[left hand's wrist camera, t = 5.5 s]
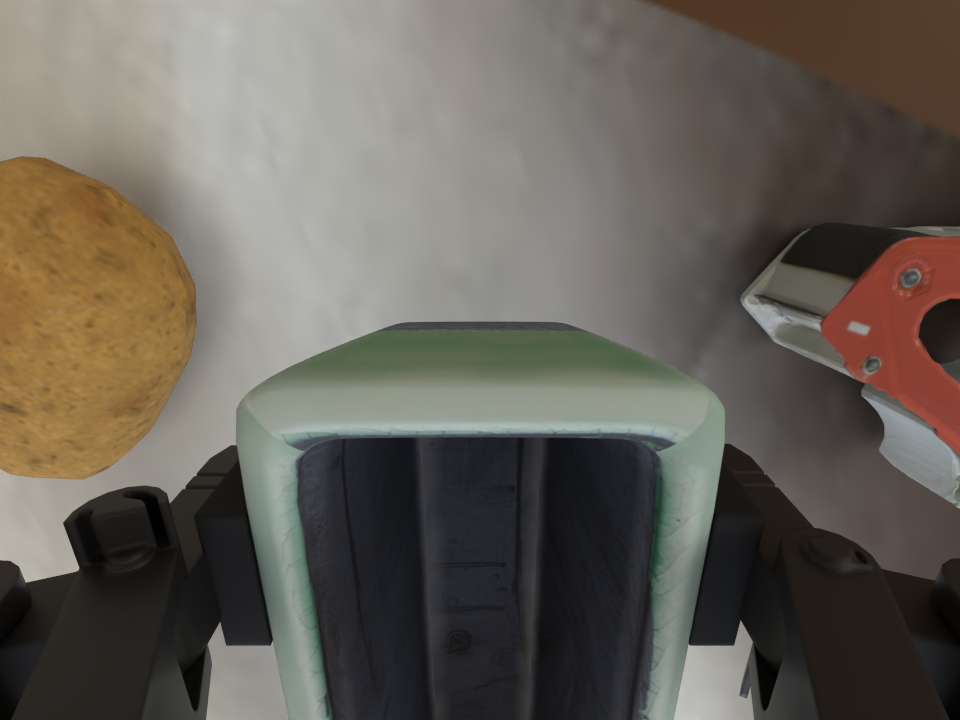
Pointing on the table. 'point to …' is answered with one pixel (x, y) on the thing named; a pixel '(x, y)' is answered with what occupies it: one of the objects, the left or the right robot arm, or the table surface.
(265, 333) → the table surface
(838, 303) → the tape dispenser
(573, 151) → the table surface
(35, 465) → the potato
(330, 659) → the planter
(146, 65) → the table surface
